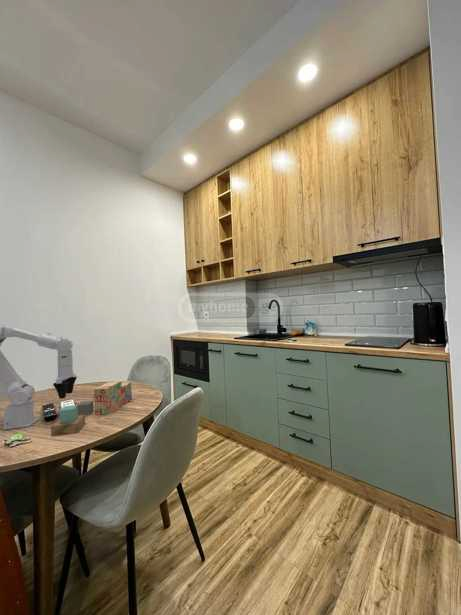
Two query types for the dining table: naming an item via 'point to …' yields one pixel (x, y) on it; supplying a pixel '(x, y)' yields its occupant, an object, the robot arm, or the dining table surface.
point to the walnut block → (68, 426)
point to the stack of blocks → (111, 396)
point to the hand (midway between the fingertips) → (66, 395)
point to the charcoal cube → (85, 408)
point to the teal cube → (68, 414)
